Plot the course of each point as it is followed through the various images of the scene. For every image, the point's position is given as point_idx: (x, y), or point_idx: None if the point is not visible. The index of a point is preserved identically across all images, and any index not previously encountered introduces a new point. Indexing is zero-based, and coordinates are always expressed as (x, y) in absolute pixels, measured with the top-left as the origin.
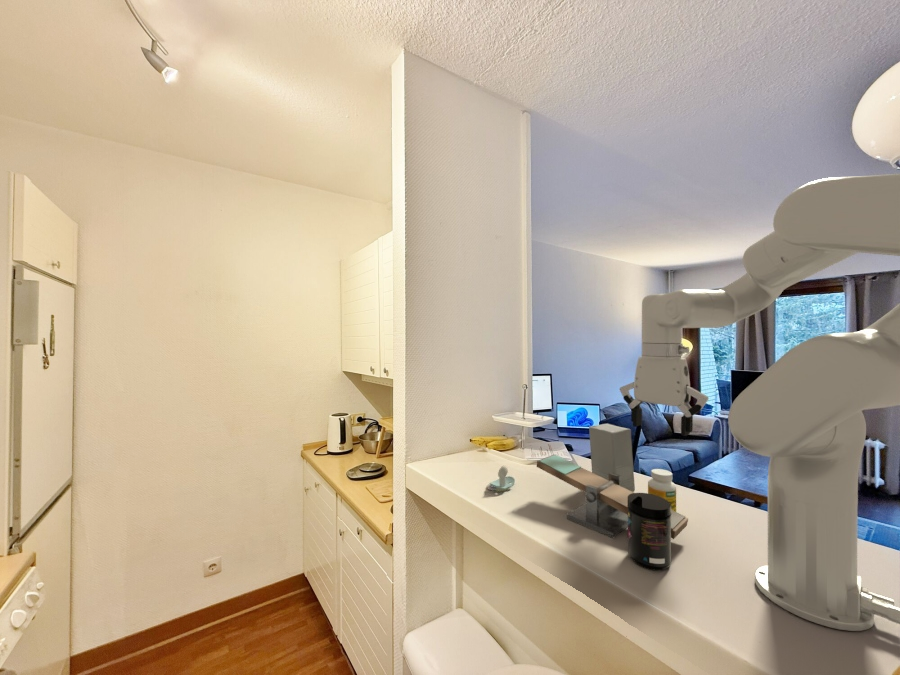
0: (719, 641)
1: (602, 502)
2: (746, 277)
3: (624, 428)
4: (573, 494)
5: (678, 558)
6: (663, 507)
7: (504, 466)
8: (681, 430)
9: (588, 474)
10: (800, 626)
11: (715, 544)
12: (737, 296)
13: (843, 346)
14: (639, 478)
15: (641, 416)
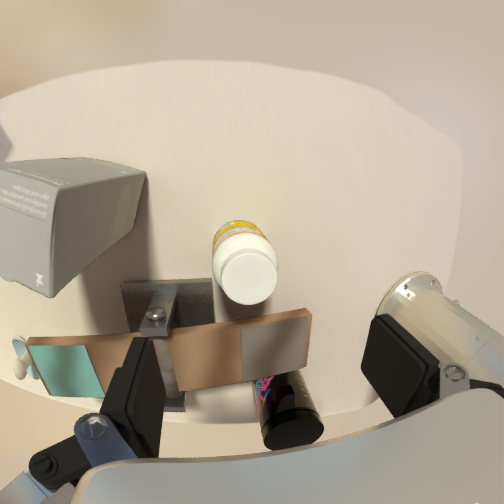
0: (346, 411)
1: (143, 301)
2: None
3: (38, 201)
4: (83, 289)
5: None
6: (316, 436)
7: (17, 375)
8: (369, 380)
9: (115, 357)
10: None
11: (332, 276)
12: None
13: None
14: (122, 82)
15: (144, 373)
